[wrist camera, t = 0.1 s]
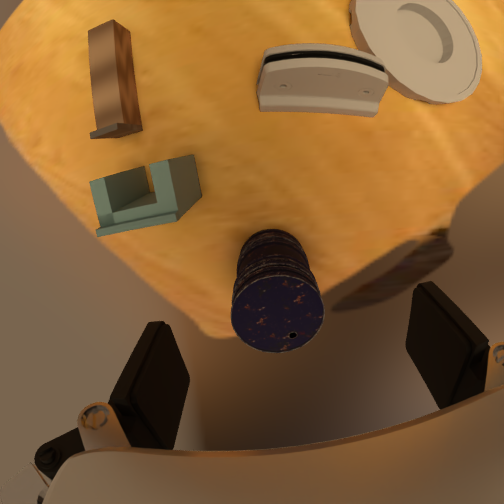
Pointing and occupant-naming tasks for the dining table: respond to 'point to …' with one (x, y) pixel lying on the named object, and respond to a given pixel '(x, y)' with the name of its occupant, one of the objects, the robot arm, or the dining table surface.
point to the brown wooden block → (113, 81)
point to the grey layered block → (321, 80)
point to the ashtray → (420, 46)
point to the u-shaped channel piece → (146, 196)
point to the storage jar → (275, 294)
